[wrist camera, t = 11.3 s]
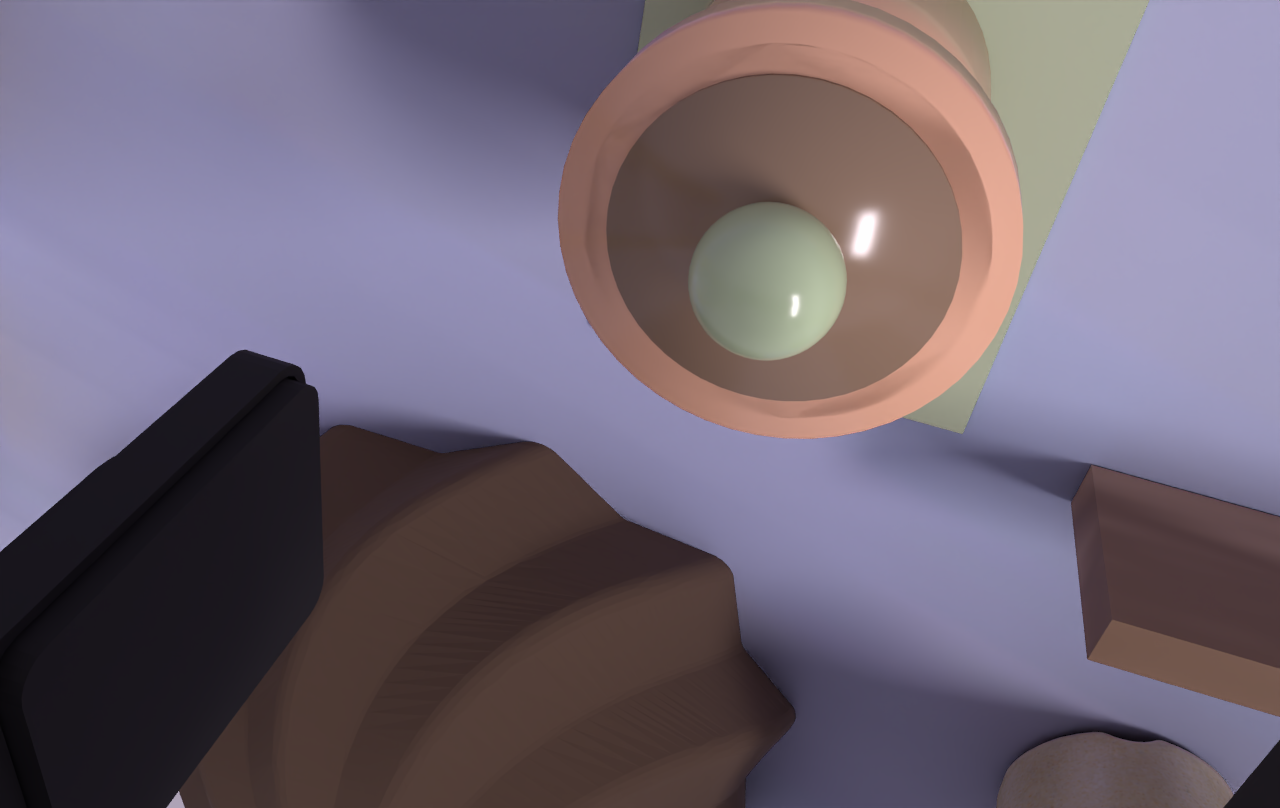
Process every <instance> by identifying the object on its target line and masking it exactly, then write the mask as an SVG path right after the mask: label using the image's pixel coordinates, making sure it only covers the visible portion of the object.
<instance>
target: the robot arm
mask: <svg viewBox="0 0 1280 808" xmlns="http://www.w3.org/2000/svg"><path fill="white" fill-rule="evenodd" d="M323 581H324V564H323V531H322V499H321V466H320V433H319V400H318V393H317V391H316V389H315V387H313V386H311V385H308V384H306V382H305V375H304V373H303V371H302V369H301V368H300V367H298V366H296V365H293V364H290V363H287V362H284V361H280V360H277V359H274V358H271V357H267V356H264V355H261V354H258V353H254V352H251V351H248V350H241V351H237V352H236V353H234V354H233V355H231V356H230V357H229V358H227V359H226V360H225V361H224V362H223V363H222V364H221V365H219V366H218V367H217V368H216V369H215V370H214V371H213V372H211V373H210V374H209V375H208V376H207V377H206V378H205V379H203V380H202V381H201V382H200V383H199V384H198V385H196V386H195V387H194V388H193V389H192V390H191V391H190V392H188V393H187V394H186V395H185V396H184V397H183V398H182V399H180V400H179V401H178V402H177V403H176V404H175V405H174V406H172V407H171V408H170V409H169V410H168V411H167V412H166V413H164V414H163V415H162V416H161V417H160V418H159V419H157V420H156V421H155V422H154V423H153V424H152V425H151V426H149V427H148V428H147V429H146V430H145V431H144V432H143V433H141V434H140V435H139V436H138V437H137V438H136V439H135V440H133V441H132V442H131V443H130V444H129V445H128V446H127V447H125V448H124V449H123V450H122V451H121V452H120V453H118V454H117V455H116V456H115V457H112V458H111V459H109V460H108V461H106V462H105V463H103V464H102V465H100V466H99V467H98V468H96V469H95V470H94V471H93V472H92V473H91V474H90V475H88V476H87V477H86V478H85V479H84V480H83V481H81V482H80V483H79V484H78V485H77V486H76V487H75V488H73V489H72V490H71V491H70V492H69V493H68V494H66V495H65V496H64V497H63V498H62V499H61V500H60V501H58V502H57V503H56V504H55V505H54V506H53V507H52V508H50V509H49V510H48V511H47V512H46V513H45V514H43V515H42V516H41V517H40V518H39V519H38V520H37V521H35V522H34V523H33V524H32V525H31V526H30V527H28V528H27V529H26V530H25V531H24V532H23V533H22V534H20V535H19V536H18V537H17V538H16V539H15V540H13V541H12V542H11V543H10V544H9V545H8V546H7V547H5V548H4V549H3V550H2V551H1V552H0V808H166V807H167V806H168V805H169V803H170V802H171V801H172V799H173V798H174V796H175V795H176V794H177V793H178V791H179V790H180V789H181V787H182V786H183V785H184V783H185V782H186V781H187V779H188V778H189V776H190V775H191V774H192V772H193V771H194V770H195V768H196V767H197V766H198V764H199V763H200V762H201V760H202V759H203V758H204V756H205V755H206V754H207V752H208V751H209V750H210V748H211V747H212V746H213V744H214V743H215V742H216V740H217V739H218V738H219V736H220V735H221V734H222V732H223V731H224V729H225V728H226V727H227V725H228V724H229V723H230V721H231V720H232V719H233V717H234V716H235V715H236V713H237V712H238V711H239V709H240V708H241V707H242V705H243V704H244V703H245V701H246V700H247V699H248V697H249V696H250V695H251V693H252V692H253V691H254V689H255V688H256V687H257V685H258V684H259V683H260V681H261V680H262V678H263V677H264V676H265V674H266V673H267V672H268V670H269V669H270V668H271V666H272V665H273V664H274V662H275V661H276V660H277V658H278V657H279V656H280V654H281V653H282V652H283V650H284V649H285V648H286V646H287V645H288V644H289V642H290V641H291V640H292V638H293V637H294V636H295V634H296V633H297V631H298V630H299V629H300V627H301V626H302V625H303V623H304V622H305V621H306V619H307V618H308V617H309V615H310V614H311V612H312V611H313V609H314V608H315V606H316V604H317V601H318V599H319V597H320V594H321V591H322V586H323ZM1223 808H1280V740H1279V742H1278V743H1277V744H1276V745H1275V746H1274V748H1273V749H1272V750H1271V751H1270V752H1269V754H1268V755H1267V756H1266V757H1265V758H1264V760H1263V761H1262V762H1261V763H1260V764H1259V765H1258V767H1257V768H1256V769H1255V770H1254V771H1253V773H1252V774H1251V775H1250V776H1249V777H1248V779H1247V780H1246V781H1245V782H1244V783H1243V785H1242V786H1241V787H1240V788H1239V789H1238V791H1237V792H1236V793H1235V794H1234V795H1233V797H1232V798H1231V799H1230V800H1229V801H1228V803H1227V804H1226V805H1225V806H1224V807H1223Z"/></svg>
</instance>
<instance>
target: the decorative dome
mask: <svg viewBox="0 0 1280 808" xmlns="http://www.w3.org/2000/svg"><path fill="white" fill-rule="evenodd" d="M320 466H321V499H322V531H323V564H324V581H323V586H322V591H321V594H320V597H319V599H318V601H317V604H316V606H315V608H314V609H313V611H312V612H311V614H310V615H309V617H308V618H307V619H306V621H305V622H304V623H303V625H302V626H301V627H300V629H299V630H298V631H297V633H296V634H295V636H294V637H293V638H292V640H291V641H290V642H289V644H288V645H287V646H286V648H285V649H284V650H283V652H282V653H281V654H280V656H279V657H278V658H277V660H276V661H275V662H274V664H273V665H272V666H271V668H270V669H269V670H268V672H267V673H266V674H265V676H264V677H263V678H262V680H261V681H260V683H259V684H258V685H257V687H256V688H255V689H254V691H253V692H252V693H251V695H250V696H249V697H248V699H247V700H246V701H245V703H244V704H243V705H242V707H241V708H240V709H239V711H238V712H237V713H236V715H235V716H234V717H233V719H232V720H231V721H230V723H229V724H228V725H227V727H226V728H225V729H224V731H223V732H222V734H221V735H220V736H219V738H218V739H217V740H216V742H215V743H214V744H213V746H212V747H211V748H210V750H209V751H208V752H207V754H206V755H205V756H204V758H203V759H202V760H201V762H200V763H199V764H198V766H197V767H196V768H195V770H194V771H193V772H192V774H191V775H190V776H189V778H188V779H187V781H186V782H185V783H184V785H183V786H182V787H181V789H180V790H179V792H180V795H181V798H182V800H183V803H184V806H185V808H745V788H746V776H747V775H748V774H749V773H750V772H751V770H752V769H753V768H754V767H755V766H756V765H757V763H758V762H759V761H760V760H761V759H762V758H763V757H764V755H765V754H766V753H767V752H768V751H769V750H770V749H771V748H772V747H773V746H774V745H775V744H776V743H777V742H778V741H779V740H780V738H781V737H782V736H783V735H784V734H785V733H786V732H787V731H788V730H789V729H790V728H791V726H792V725H793V723H794V721H795V719H796V715H795V711H794V709H793V707H792V705H791V704H790V703H789V702H788V701H787V699H786V698H785V697H784V696H783V695H782V694H781V692H780V691H779V690H778V689H777V688H776V687H775V685H774V684H773V683H772V682H771V680H770V679H769V678H768V677H767V676H766V674H765V673H764V672H763V671H762V670H761V669H760V667H759V666H758V665H757V664H756V663H755V662H754V660H753V659H752V658H751V657H750V656H749V654H748V653H747V652H746V651H745V649H744V648H743V645H742V643H741V636H740V628H739V619H738V611H737V603H736V595H735V587H734V577H733V574H732V572H731V570H730V568H729V567H728V566H727V565H726V564H725V563H724V562H723V561H722V560H721V559H719V558H717V557H716V556H714V555H711V554H709V553H706V552H704V551H702V550H699V549H697V548H694V547H692V546H689V545H687V544H684V543H682V542H679V541H677V540H674V539H672V538H669V537H667V536H664V535H662V534H659V533H657V532H655V531H652V530H650V529H647V528H645V527H642V526H640V525H637V524H635V523H632V522H630V521H627V520H625V519H623V518H622V517H621V516H620V515H619V514H618V513H617V512H616V511H615V510H614V509H613V508H612V507H611V506H610V505H609V504H608V503H607V502H606V501H605V500H603V499H602V498H601V497H600V496H599V495H598V494H597V493H596V492H595V491H594V490H593V489H592V488H591V487H590V486H589V485H588V484H587V483H586V482H585V481H584V480H583V479H582V478H581V477H580V476H579V475H578V474H577V473H576V472H575V471H574V470H573V469H572V468H571V467H570V466H569V465H568V464H567V463H566V462H565V461H564V460H563V459H562V458H561V457H559V456H558V455H557V454H556V453H555V452H554V451H553V450H551V449H550V448H548V447H546V446H544V445H542V444H539V443H535V442H519V443H511V444H504V445H497V446H491V447H484V448H477V449H469V450H462V451H455V452H449V453H438V452H434V451H431V450H428V449H425V448H422V447H418V446H415V445H412V444H409V443H406V442H402V441H399V440H396V439H393V438H390V437H386V436H383V435H380V434H377V433H373V432H370V431H367V430H364V429H361V428H357V427H354V426H351V425H338V426H334V427H332V428H331V429H330V430H328V431H327V432H326V433H324V434H323V435H322V436H321V437H320Z"/></svg>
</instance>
